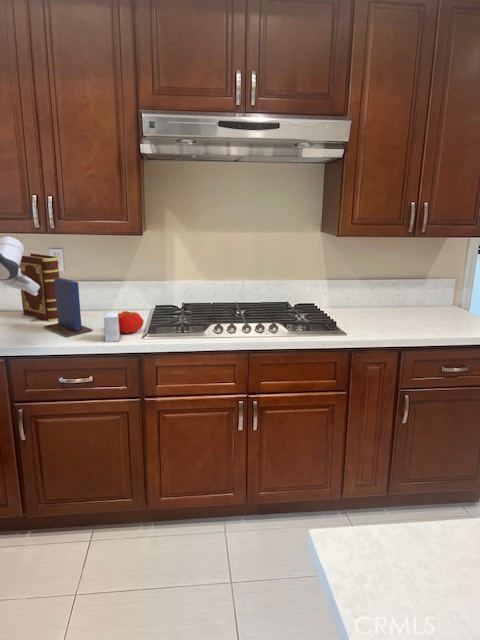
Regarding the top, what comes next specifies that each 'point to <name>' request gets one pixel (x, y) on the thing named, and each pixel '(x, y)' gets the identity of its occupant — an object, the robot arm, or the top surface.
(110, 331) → the small box
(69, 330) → the brown flat board
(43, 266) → the decorative book
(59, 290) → the book
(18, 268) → the robot arm
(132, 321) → the tomato
